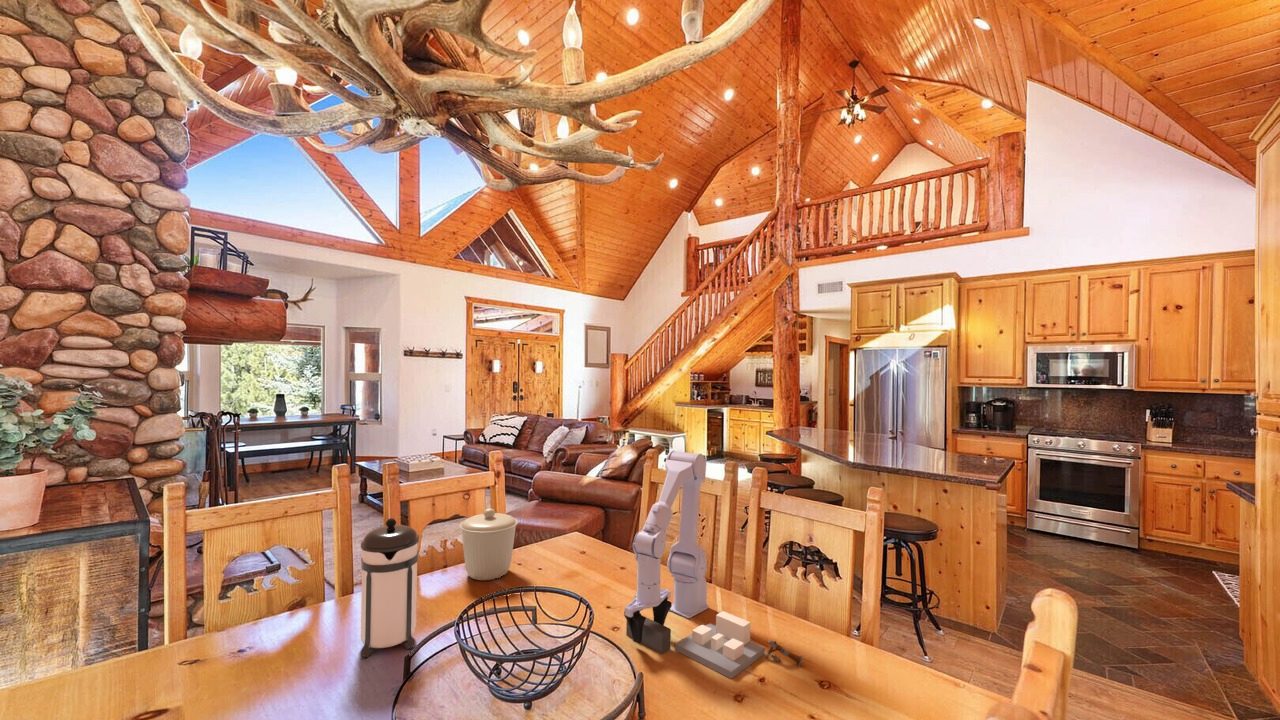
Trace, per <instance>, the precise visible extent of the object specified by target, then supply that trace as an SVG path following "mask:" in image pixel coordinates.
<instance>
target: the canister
mask: <svg viewBox="0 0 1280 720" xmlns="http://www.w3.org/2000/svg"><path fill="white" fill-rule="evenodd" d="M518 524H519V521H518V519H517V518H515V517H513V516H512V515H510V514H507V513H499V512H496V511H495V509H494V508H491V507H490V508H486V509H485V510H484V511H483V513H480V514H476V515H472V516H470V517H468V518H466V519H465V520H463V521H461V522H460V523H459V529H460V530H461V535H462V536H461V538H462V547H463V558H464V566H465V571H466V574H467V576H468V577H470V578H471V579H473V580H477V581H491V580H496V579H495V578H497V579H499V578H501V576H502V577H503V575H504V576H506V574H507V573H508V571H509V570H510V568H511V563H512V557H513V552H514V551H513V550H514V542H515V535H516V527H517V526H518Z"/></svg>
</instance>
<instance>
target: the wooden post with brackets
mask: <svg viewBox="0 0 1280 720" xmlns="http://www.w3.org/2000/svg"><path fill="white" fill-rule="evenodd" d="M768 644H769V646H770V647H769V649H768V651H767V652H766V653H765V659H766V660H767V659H768V658H769V657H771V658H772V660H773V661H775V662H777V663H779V662H780V663H782V659H781V658H780V656H777V655H776V654H772V653H773V652H777V651H779V652H780V654H782V655H784V656H785V657H788V658H789V659H791V660H792V661H793V662H795V663H796V664H797V667H799V665H800V666H801V665H802V662H803V660H804V659H803V656H802V655H800V656H798V655H795V654H793V653H791V652H790V651H789V650H787V649H786V648H784V647H783V646H780V645H779V644H778V643H777V641H776V640H768Z"/></svg>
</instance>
